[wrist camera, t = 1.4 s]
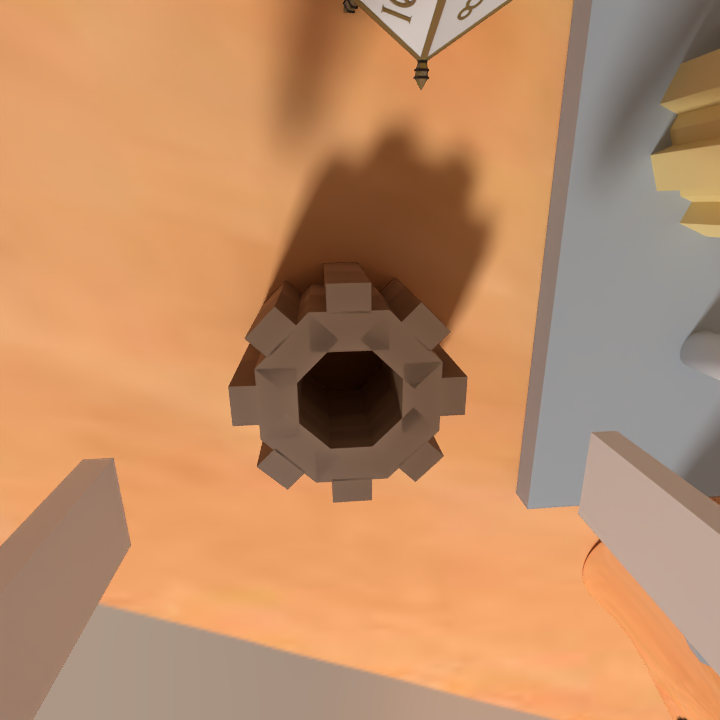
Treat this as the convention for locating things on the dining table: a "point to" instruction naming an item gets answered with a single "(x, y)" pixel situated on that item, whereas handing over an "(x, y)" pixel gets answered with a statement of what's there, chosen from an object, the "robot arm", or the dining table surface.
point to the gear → (694, 143)
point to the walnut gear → (346, 407)
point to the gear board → (623, 264)
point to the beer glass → (654, 639)
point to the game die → (426, 23)
